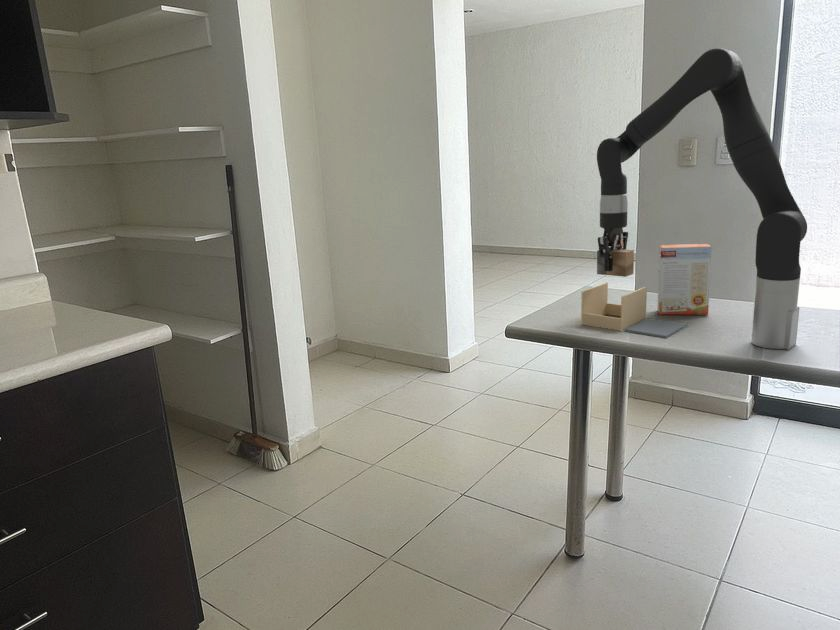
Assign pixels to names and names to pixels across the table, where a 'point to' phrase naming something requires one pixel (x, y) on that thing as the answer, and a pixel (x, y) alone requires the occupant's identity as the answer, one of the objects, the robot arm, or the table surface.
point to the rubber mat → (656, 327)
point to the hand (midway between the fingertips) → (612, 269)
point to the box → (617, 263)
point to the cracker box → (684, 279)
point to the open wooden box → (612, 308)
